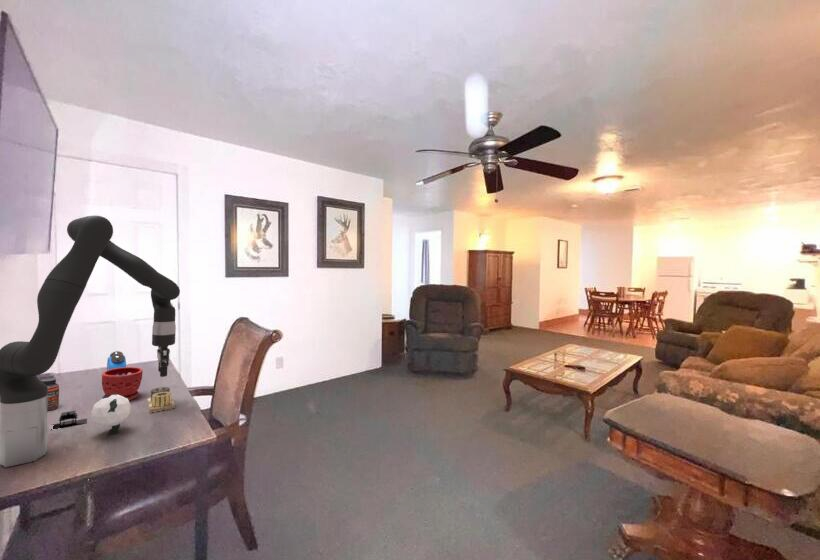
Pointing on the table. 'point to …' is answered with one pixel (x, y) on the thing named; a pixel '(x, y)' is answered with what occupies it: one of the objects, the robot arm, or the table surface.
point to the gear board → (154, 409)
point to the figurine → (111, 412)
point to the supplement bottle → (52, 393)
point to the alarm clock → (116, 361)
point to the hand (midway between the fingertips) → (162, 373)
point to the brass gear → (161, 399)
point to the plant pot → (122, 382)
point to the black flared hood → (69, 423)
